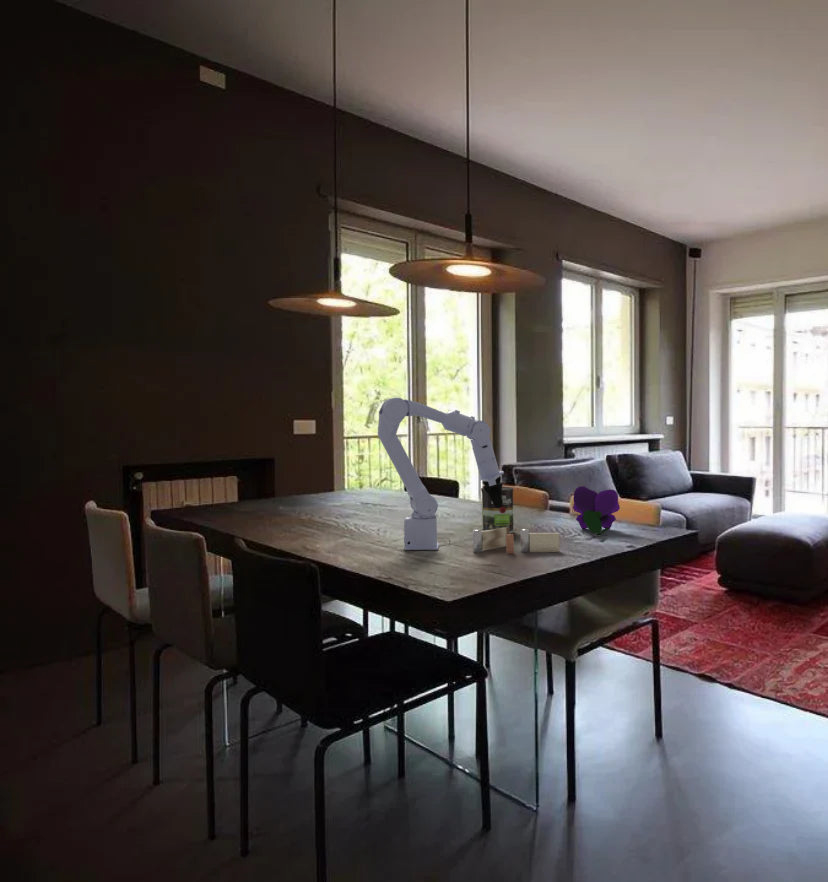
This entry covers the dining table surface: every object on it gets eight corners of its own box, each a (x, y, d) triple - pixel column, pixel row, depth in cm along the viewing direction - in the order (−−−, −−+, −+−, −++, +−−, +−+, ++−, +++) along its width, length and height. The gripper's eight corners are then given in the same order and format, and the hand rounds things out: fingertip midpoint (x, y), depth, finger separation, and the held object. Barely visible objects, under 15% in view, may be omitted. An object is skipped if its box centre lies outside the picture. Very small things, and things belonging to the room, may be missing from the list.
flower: (623, 551, 196) (617, 524, 207) (626, 512, 188) (620, 486, 200) (574, 550, 198) (571, 524, 210) (575, 511, 191) (572, 486, 202)
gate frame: (473, 553, 174) (472, 531, 174) (473, 550, 177) (472, 529, 177) (560, 553, 172) (559, 530, 172) (558, 550, 175) (558, 528, 175)
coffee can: (518, 533, 201) (518, 489, 201) (487, 535, 199) (486, 490, 199) (507, 528, 211) (506, 485, 211) (477, 530, 209) (476, 487, 209)
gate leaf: (483, 550, 176) (483, 532, 176) (479, 549, 178) (479, 531, 177) (509, 545, 182) (509, 527, 182) (505, 544, 183) (505, 527, 183)
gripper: (500, 460, 178) (513, 506, 179) (497, 453, 193) (509, 496, 194) (476, 466, 179) (489, 512, 180) (475, 459, 193) (487, 502, 194)
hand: (498, 504), depth 187 cm, fingers open, 7 cm apart
